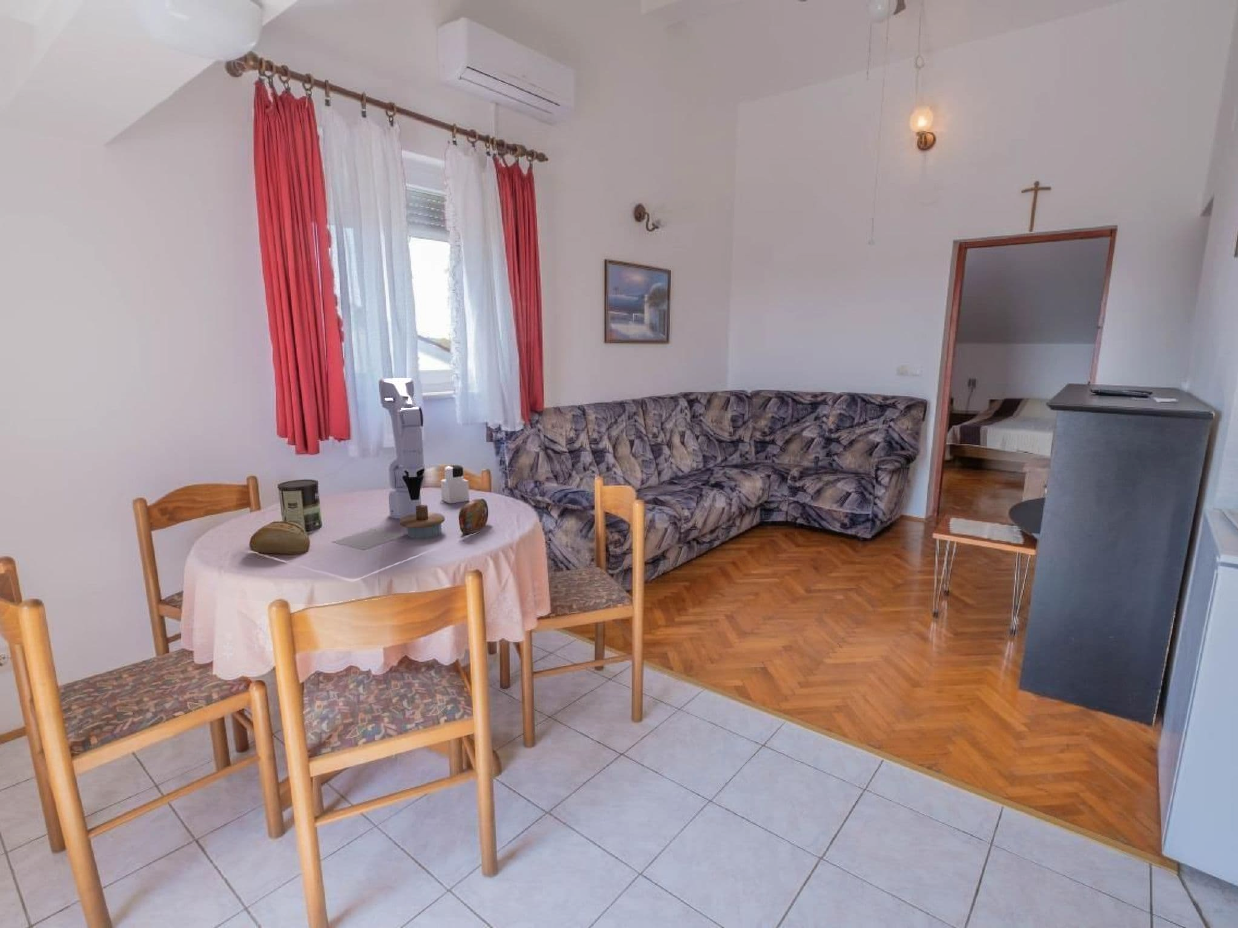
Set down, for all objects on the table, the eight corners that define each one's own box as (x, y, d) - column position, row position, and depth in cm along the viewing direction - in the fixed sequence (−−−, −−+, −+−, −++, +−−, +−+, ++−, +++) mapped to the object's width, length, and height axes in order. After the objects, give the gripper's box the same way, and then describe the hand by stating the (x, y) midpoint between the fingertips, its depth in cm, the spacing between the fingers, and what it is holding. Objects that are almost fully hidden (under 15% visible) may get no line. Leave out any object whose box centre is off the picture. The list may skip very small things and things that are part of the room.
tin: (468, 538, 170) (466, 509, 169) (457, 537, 171) (456, 508, 169) (489, 522, 185) (488, 495, 183) (480, 522, 185) (478, 495, 184)
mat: (331, 543, 165) (331, 541, 165) (371, 530, 177) (371, 529, 176) (364, 551, 159) (363, 549, 159) (403, 537, 170) (403, 536, 170)
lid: (390, 523, 170) (389, 508, 169) (422, 513, 180) (421, 498, 179) (422, 530, 164) (421, 514, 163) (453, 518, 174) (452, 504, 174)
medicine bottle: (460, 496, 215) (459, 463, 213) (469, 500, 210) (468, 466, 207) (441, 499, 211) (439, 465, 208) (449, 504, 205) (447, 469, 203)
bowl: (400, 536, 171) (399, 523, 170) (425, 528, 179) (424, 515, 178) (424, 541, 167) (423, 527, 166) (448, 533, 175) (447, 519, 174)
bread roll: (263, 546, 164) (260, 517, 162) (319, 546, 164) (316, 517, 162) (241, 558, 154) (237, 528, 153) (300, 559, 154) (297, 528, 153)
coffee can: (320, 523, 184) (316, 477, 181) (324, 532, 175) (319, 484, 172) (281, 528, 178) (276, 481, 176) (283, 538, 170) (278, 489, 167)
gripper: (399, 446, 179) (402, 491, 182) (395, 455, 165) (399, 503, 168) (424, 445, 181) (427, 489, 184) (422, 453, 167) (425, 501, 170)
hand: (415, 496), depth 176 cm, fingers open, 7 cm apart
